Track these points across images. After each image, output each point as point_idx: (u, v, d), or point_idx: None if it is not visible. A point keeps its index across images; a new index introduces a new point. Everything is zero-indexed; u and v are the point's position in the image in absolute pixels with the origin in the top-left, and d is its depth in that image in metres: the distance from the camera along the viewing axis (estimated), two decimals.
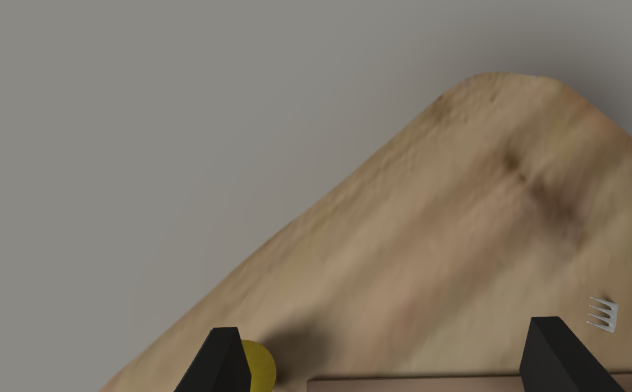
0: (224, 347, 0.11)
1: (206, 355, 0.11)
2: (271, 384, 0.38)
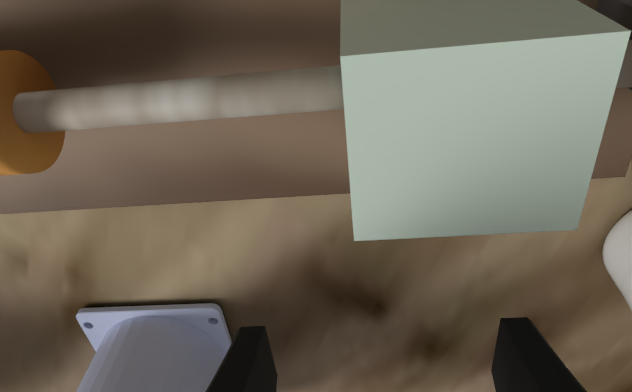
0: (254, 346, 0.11)
1: (236, 354, 0.11)
2: None
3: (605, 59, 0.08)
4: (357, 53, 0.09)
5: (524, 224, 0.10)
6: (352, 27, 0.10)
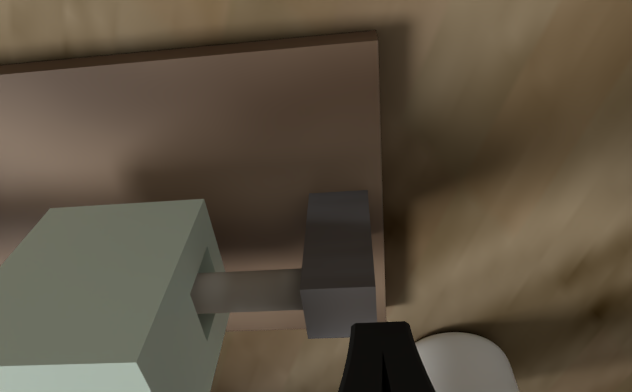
0: (377, 343, 0.10)
1: (361, 351, 0.10)
2: None
3: (129, 376, 0.10)
4: None
5: None
6: None
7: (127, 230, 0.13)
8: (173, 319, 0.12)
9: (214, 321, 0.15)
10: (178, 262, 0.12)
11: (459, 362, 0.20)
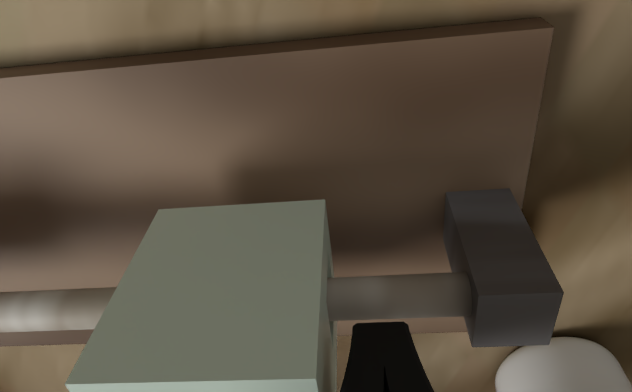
0: (378, 343, 0.10)
1: (363, 351, 0.10)
2: None
3: None
4: (81, 380, 0.09)
5: None
6: (113, 313, 0.11)
7: (252, 233, 0.13)
8: (323, 329, 0.11)
9: (333, 329, 0.14)
10: (321, 268, 0.11)
11: (578, 368, 0.19)
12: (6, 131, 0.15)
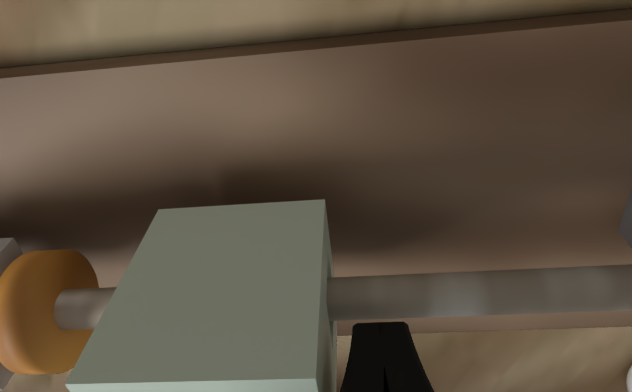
0: (378, 343, 0.10)
1: (363, 351, 0.10)
2: None
3: None
4: (81, 380, 0.09)
5: None
6: (114, 312, 0.11)
7: (252, 233, 0.13)
8: (323, 329, 0.11)
9: (333, 328, 0.14)
10: (321, 268, 0.11)
11: None
12: (184, 117, 0.14)
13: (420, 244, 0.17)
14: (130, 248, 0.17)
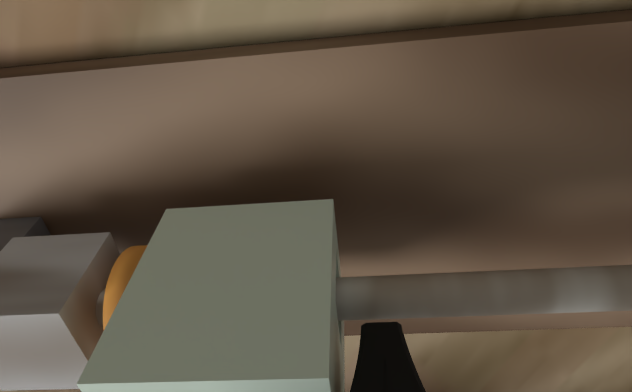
0: (387, 342, 0.10)
1: (372, 350, 0.10)
2: None
3: None
4: (92, 380, 0.09)
5: None
6: (123, 312, 0.11)
7: (261, 232, 0.13)
8: (333, 329, 0.11)
9: (341, 328, 0.14)
10: (331, 267, 0.11)
11: None
12: (289, 109, 0.14)
13: (513, 239, 0.16)
14: None
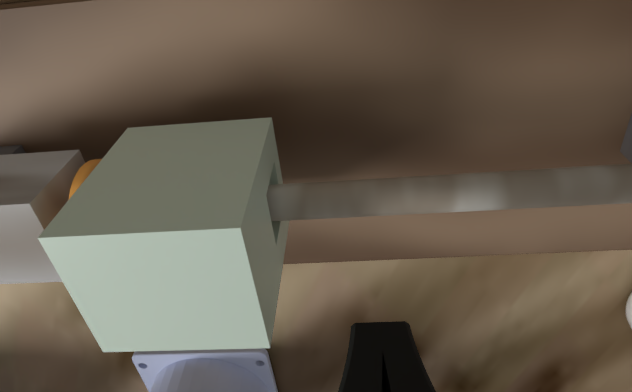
0: (377, 343, 0.10)
1: (361, 351, 0.10)
2: None
3: (231, 243, 0.11)
4: (51, 235, 0.11)
5: (227, 344, 0.13)
6: (82, 194, 0.13)
7: (205, 141, 0.15)
8: (258, 209, 0.13)
9: (279, 231, 0.16)
10: (259, 161, 0.13)
11: None
12: (234, 40, 0.16)
13: (441, 166, 0.18)
14: None
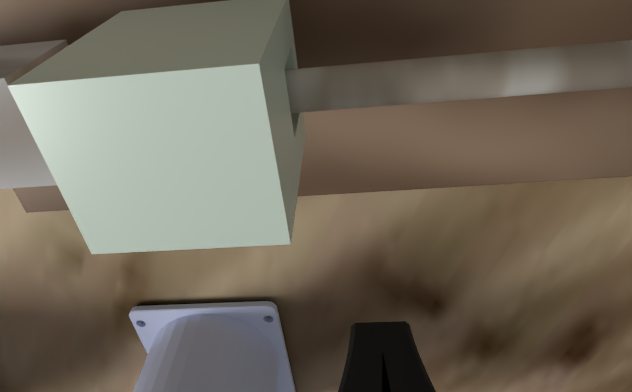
0: (377, 343, 0.10)
1: (361, 351, 0.10)
2: None
3: (247, 89, 0.09)
4: (24, 82, 0.09)
5: (240, 239, 0.11)
6: (64, 54, 0.11)
7: (212, 12, 0.12)
8: (276, 71, 0.11)
9: (297, 129, 0.14)
10: (276, 21, 0.11)
11: None
12: None
13: None
14: None
